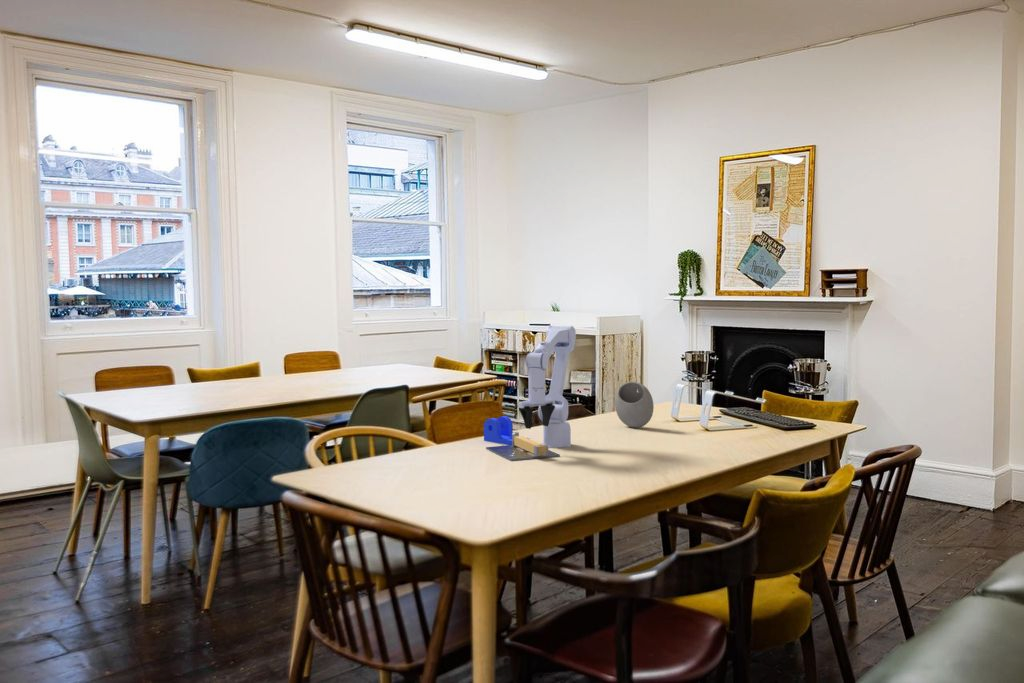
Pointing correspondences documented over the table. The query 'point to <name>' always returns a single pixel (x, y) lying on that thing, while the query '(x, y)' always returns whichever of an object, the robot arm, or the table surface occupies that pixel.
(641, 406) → the planter
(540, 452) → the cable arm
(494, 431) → the bracket
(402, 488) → the table surface
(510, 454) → the panel
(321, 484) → the table surface
